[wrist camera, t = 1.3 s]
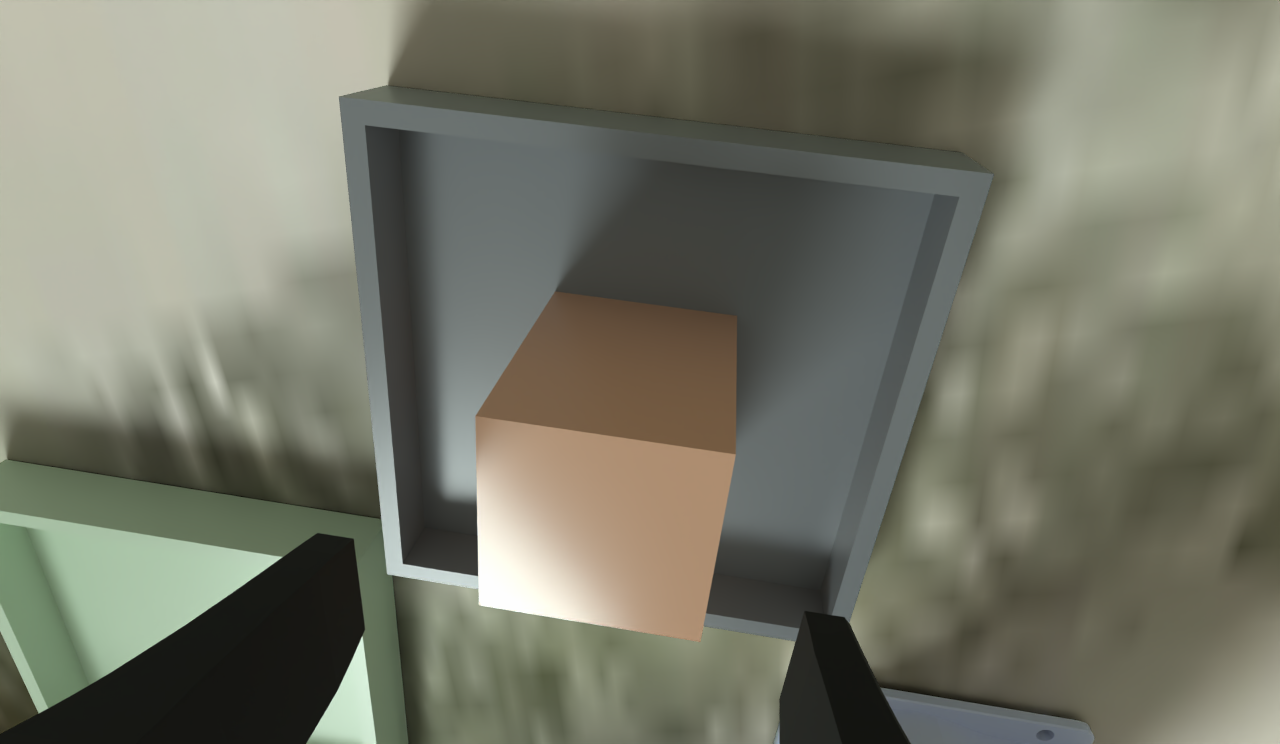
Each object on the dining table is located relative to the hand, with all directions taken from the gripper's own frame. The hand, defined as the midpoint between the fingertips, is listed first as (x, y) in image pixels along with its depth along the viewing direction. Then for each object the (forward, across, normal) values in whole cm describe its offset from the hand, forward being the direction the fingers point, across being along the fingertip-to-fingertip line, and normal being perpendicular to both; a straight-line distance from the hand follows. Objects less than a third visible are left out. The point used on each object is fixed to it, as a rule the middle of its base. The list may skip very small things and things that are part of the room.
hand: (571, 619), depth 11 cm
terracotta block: (+8, 0, 0) cm, 8 cm away
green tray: (+9, +14, +13) cm, 21 cm away
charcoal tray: (+9, 0, 0) cm, 9 cm away
